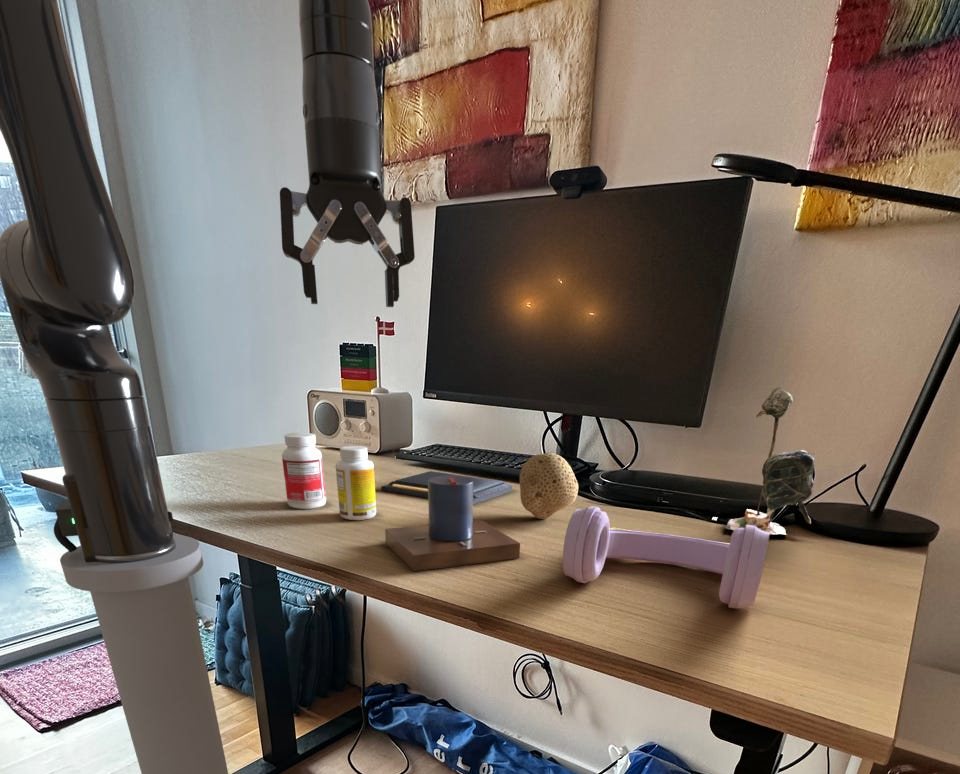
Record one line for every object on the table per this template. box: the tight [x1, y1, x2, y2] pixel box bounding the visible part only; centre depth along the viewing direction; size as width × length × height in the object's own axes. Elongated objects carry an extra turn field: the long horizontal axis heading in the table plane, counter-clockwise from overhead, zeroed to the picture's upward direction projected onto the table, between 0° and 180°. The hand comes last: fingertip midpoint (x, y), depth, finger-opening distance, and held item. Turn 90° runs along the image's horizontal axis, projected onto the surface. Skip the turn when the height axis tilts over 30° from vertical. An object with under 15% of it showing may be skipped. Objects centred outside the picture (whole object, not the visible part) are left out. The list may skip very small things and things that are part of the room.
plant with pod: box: [724, 386, 815, 536], centre depth 85 cm, size 8×11×20 cm
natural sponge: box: [519, 452, 579, 520], centre depth 92 cm, size 9×9×10 cm
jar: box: [427, 476, 474, 542], centre depth 76 cm, size 6×6×7 cm
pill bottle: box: [281, 432, 327, 510], centre depth 96 cm, size 6×6×11 cm
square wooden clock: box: [384, 519, 521, 572], centre depth 78 cm, size 14×12×2 cm
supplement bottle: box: [335, 445, 377, 521], centre depth 90 cm, size 6×6×10 cm
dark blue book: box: [380, 470, 513, 506], centre depth 110 cm, size 20×2×15 cm
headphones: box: [562, 506, 770, 609], centre depth 69 cm, size 20×10×20 cm
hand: (352, 305), depth 69 cm, fingers open, 8 cm apart
